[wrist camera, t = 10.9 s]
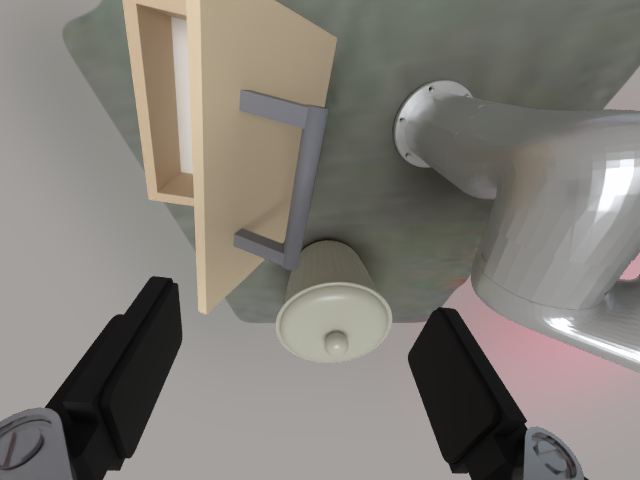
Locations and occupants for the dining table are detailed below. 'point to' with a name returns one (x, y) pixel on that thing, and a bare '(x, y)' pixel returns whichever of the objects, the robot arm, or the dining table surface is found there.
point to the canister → (332, 306)
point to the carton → (162, 95)
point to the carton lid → (253, 135)
